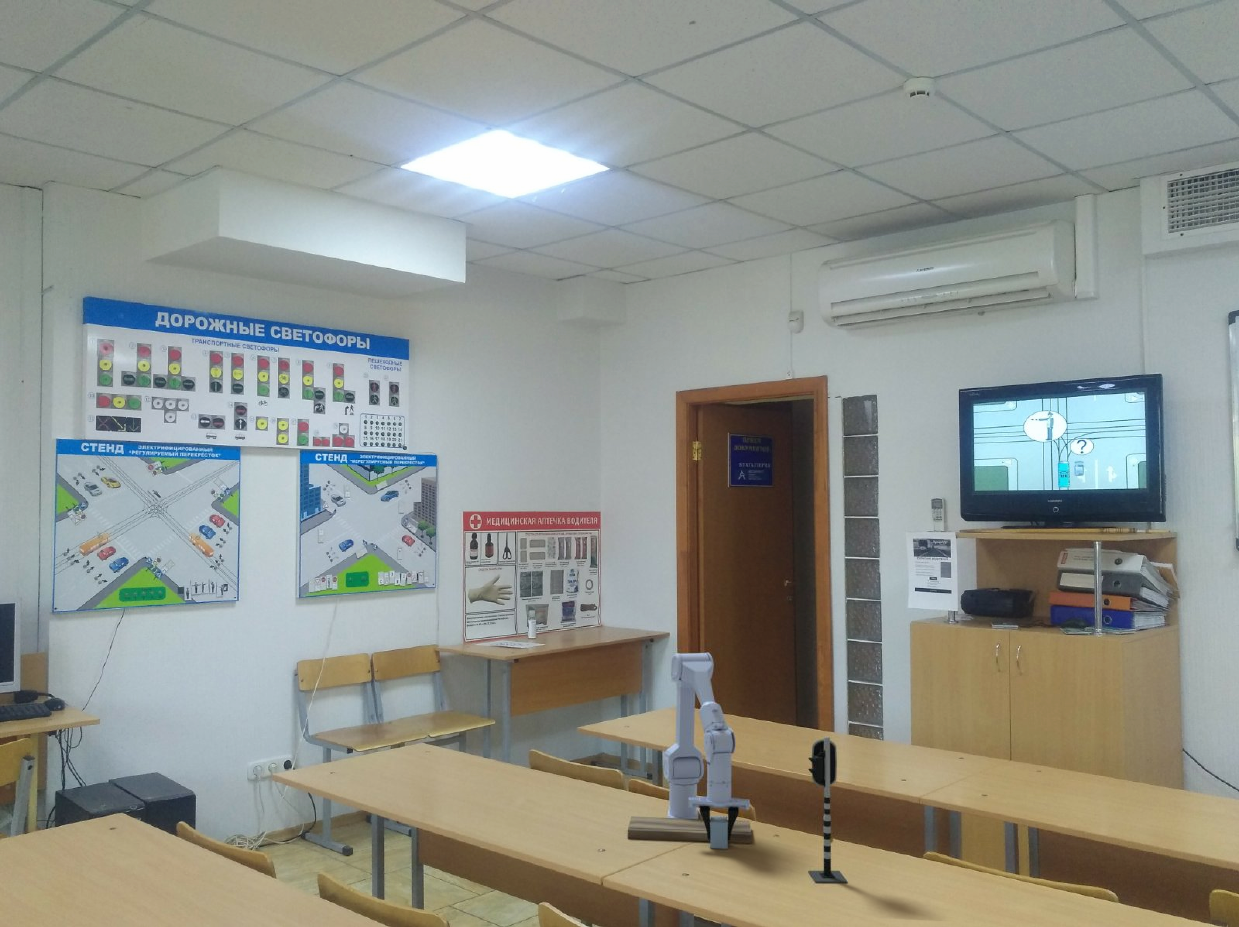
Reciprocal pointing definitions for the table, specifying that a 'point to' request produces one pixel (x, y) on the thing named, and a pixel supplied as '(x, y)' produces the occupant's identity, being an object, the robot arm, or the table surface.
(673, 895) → the table surface
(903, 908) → the table surface
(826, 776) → the miniature traffic light
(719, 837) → the light blue block
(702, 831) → the board
